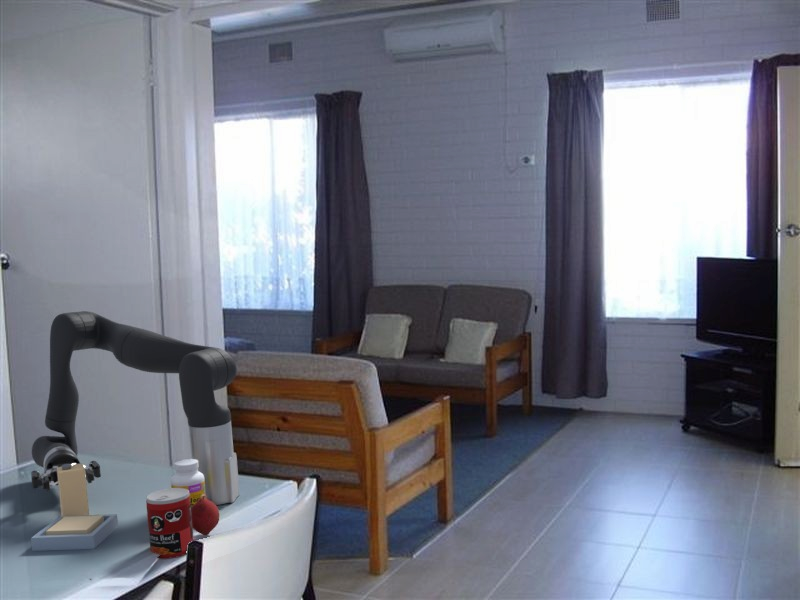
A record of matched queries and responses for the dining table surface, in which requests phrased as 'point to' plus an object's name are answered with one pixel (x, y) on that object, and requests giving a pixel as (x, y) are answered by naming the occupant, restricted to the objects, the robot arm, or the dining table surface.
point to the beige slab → (75, 525)
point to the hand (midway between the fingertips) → (69, 482)
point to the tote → (74, 536)
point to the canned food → (169, 522)
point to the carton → (73, 490)
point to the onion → (204, 515)
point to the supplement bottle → (189, 479)
